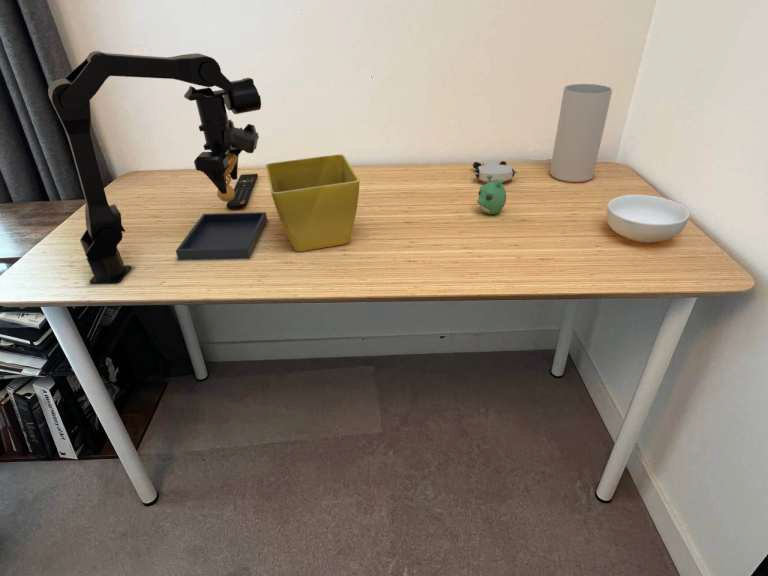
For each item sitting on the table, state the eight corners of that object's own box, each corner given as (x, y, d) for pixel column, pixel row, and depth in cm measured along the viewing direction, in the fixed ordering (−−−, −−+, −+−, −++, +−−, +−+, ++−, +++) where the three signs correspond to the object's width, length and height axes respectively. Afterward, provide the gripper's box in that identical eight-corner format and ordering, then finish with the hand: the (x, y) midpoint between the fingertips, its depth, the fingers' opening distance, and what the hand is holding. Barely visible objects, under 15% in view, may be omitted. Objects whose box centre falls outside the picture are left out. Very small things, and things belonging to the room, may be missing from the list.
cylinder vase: (541, 171, 149) (554, 86, 135) (575, 166, 152) (592, 82, 138) (565, 185, 139) (582, 95, 125) (601, 179, 142) (622, 90, 128)
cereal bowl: (640, 214, 122) (647, 188, 118) (696, 243, 109) (707, 215, 105) (586, 227, 117) (592, 200, 113) (638, 259, 104) (647, 230, 100)
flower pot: (283, 262, 108) (271, 192, 99) (276, 226, 123) (265, 162, 114) (364, 248, 112) (360, 180, 103) (348, 215, 127) (343, 153, 118)
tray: (249, 258, 110) (247, 249, 109) (178, 260, 110) (175, 250, 109) (267, 220, 126) (266, 212, 125) (205, 222, 127) (203, 213, 125)
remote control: (258, 177, 152) (257, 173, 152) (246, 209, 133) (245, 204, 132) (241, 178, 152) (240, 174, 151) (226, 210, 132) (225, 206, 132)
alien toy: (469, 211, 127) (472, 175, 121) (493, 205, 130) (496, 169, 124) (486, 221, 122) (489, 184, 116) (510, 215, 124) (514, 178, 119)
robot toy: (468, 172, 153) (475, 186, 140) (469, 158, 151) (476, 171, 138) (507, 171, 152) (517, 185, 139) (508, 156, 150) (519, 170, 137)
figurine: (225, 194, 118) (216, 145, 112) (249, 194, 118) (241, 146, 111) (213, 207, 111) (202, 156, 105) (238, 208, 111) (229, 157, 104)
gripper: (239, 129, 96) (254, 201, 104) (260, 106, 111) (272, 171, 120) (184, 131, 96) (203, 203, 105) (213, 107, 111) (228, 172, 120)
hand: (229, 186), depth 112 cm, fingers closed on figurine, 8 cm apart
